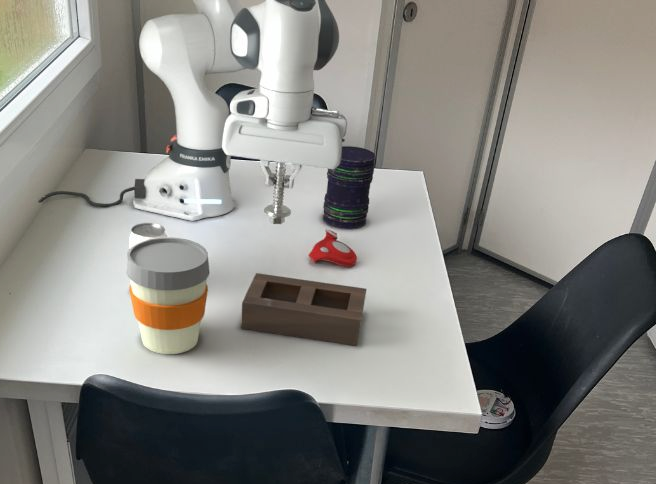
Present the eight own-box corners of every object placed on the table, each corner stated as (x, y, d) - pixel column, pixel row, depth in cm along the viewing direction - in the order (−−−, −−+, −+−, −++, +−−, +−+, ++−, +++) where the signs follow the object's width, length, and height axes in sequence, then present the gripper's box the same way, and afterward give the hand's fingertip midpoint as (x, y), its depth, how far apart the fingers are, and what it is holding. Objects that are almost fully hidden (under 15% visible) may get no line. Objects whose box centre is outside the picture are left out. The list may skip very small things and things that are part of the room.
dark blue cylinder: (355, 210, 167) (366, 130, 157) (373, 227, 160) (386, 145, 149) (315, 213, 164) (323, 132, 154) (331, 231, 157) (341, 147, 146)
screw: (280, 214, 134) (295, 224, 130) (258, 218, 131) (272, 229, 128) (285, 143, 126) (301, 152, 123) (262, 146, 124) (277, 156, 120)
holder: (356, 346, 119) (360, 319, 117) (240, 328, 122) (242, 302, 119) (362, 313, 128) (366, 288, 125) (254, 297, 131) (255, 272, 128)
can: (139, 303, 126) (136, 239, 119) (127, 287, 131) (123, 224, 124) (174, 297, 129) (173, 234, 122) (161, 281, 134) (159, 219, 127)
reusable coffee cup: (142, 366, 111) (137, 278, 102) (122, 326, 120) (116, 242, 111) (220, 352, 115) (221, 266, 107) (194, 314, 125) (194, 232, 116)
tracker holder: (368, 258, 144) (331, 257, 138) (358, 276, 146) (321, 276, 140) (336, 223, 150) (299, 220, 144) (327, 241, 153) (290, 239, 147)
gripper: (350, 106, 120) (340, 187, 128) (230, 91, 122) (227, 172, 131) (346, 117, 115) (336, 200, 123) (220, 101, 117) (218, 184, 126)
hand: (279, 185), depth 127 cm, fingers closed on screw, 2 cm apart
